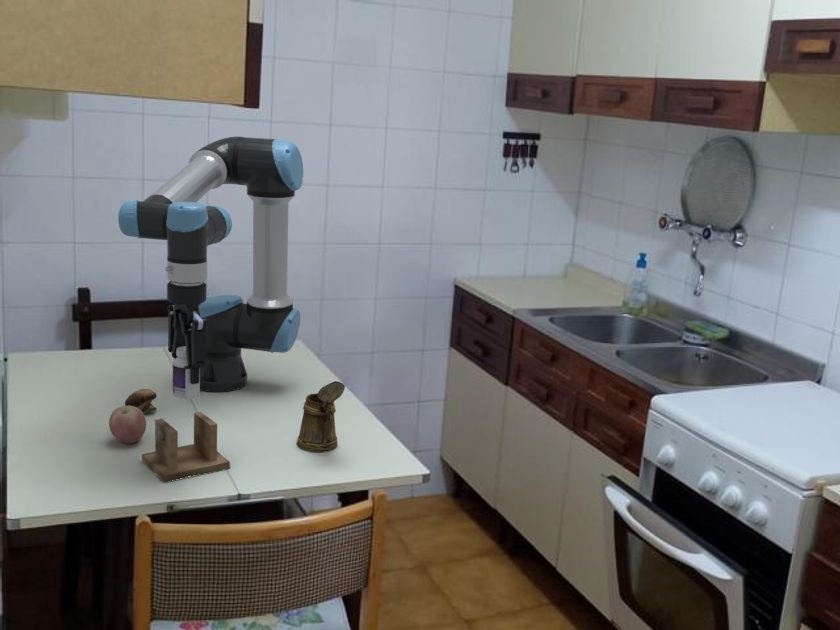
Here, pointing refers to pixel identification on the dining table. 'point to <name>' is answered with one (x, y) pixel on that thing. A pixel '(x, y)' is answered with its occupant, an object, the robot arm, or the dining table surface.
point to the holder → (185, 451)
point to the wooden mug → (320, 419)
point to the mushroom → (142, 400)
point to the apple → (127, 424)
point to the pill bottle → (179, 372)
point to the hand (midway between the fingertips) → (186, 392)
